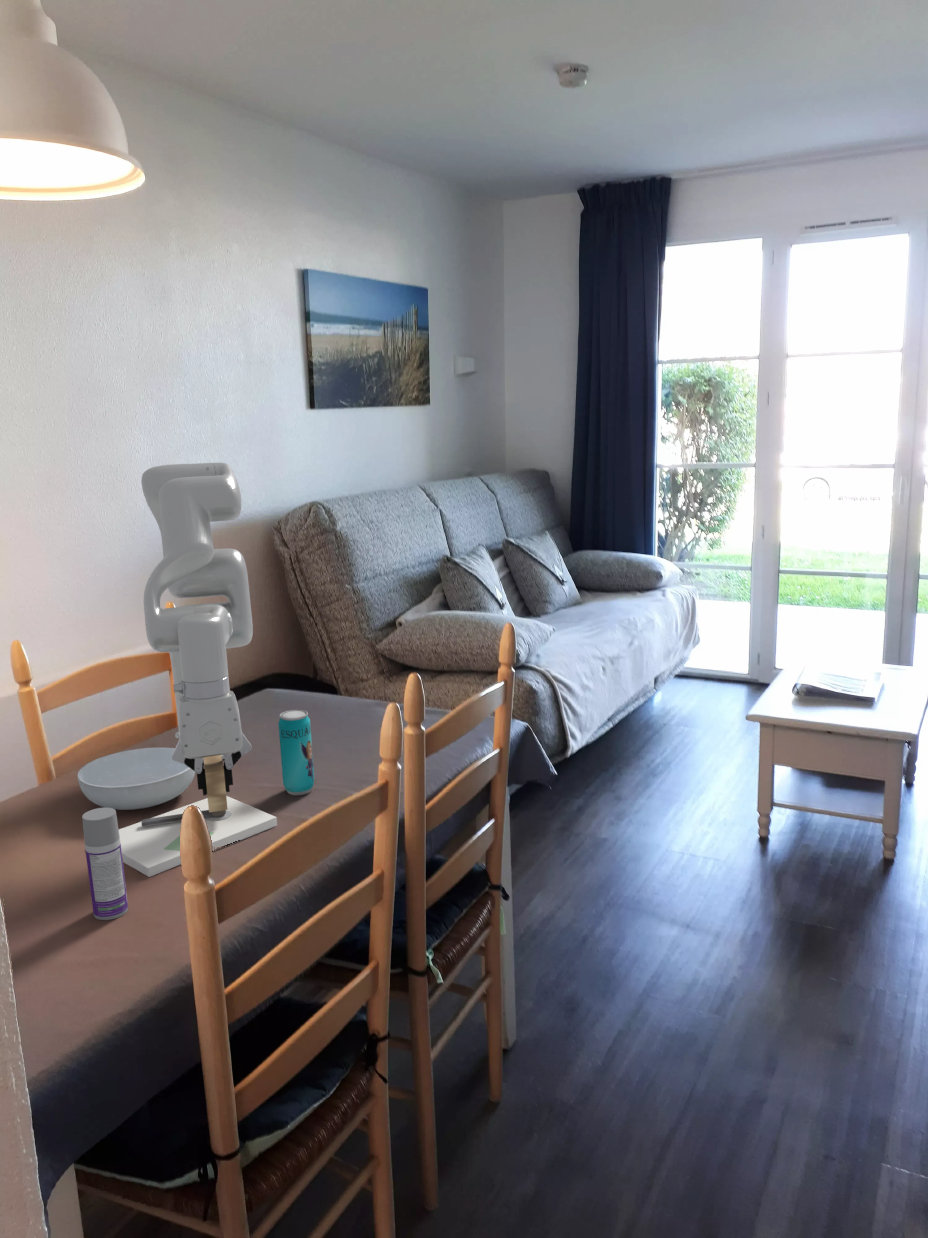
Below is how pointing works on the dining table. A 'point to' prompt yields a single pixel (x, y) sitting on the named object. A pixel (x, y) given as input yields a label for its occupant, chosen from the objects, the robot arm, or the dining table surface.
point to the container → (105, 863)
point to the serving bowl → (134, 778)
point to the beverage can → (296, 752)
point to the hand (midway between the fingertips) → (216, 790)
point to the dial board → (161, 842)
